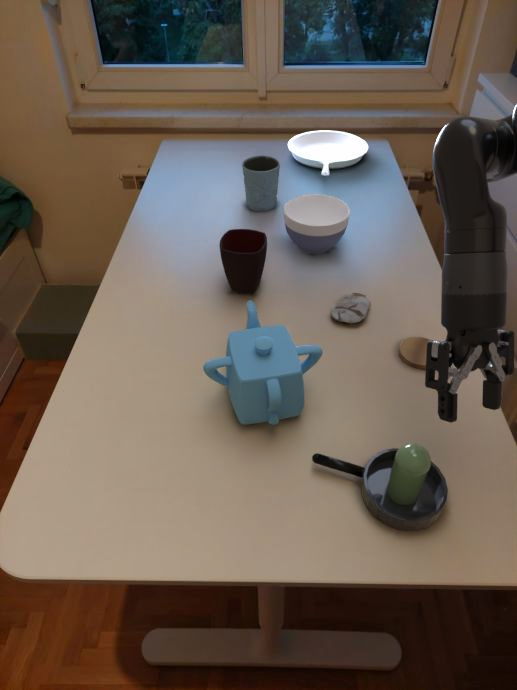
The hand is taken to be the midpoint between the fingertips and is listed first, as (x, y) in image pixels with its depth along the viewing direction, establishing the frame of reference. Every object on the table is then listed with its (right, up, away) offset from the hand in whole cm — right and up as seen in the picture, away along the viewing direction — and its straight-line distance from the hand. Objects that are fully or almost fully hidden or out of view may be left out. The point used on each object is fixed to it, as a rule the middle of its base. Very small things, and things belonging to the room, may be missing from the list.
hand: (470, 414), depth 65 cm
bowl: (-13, +34, +62) cm, 72 cm away
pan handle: (-15, -10, +12) cm, 22 cm away
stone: (-8, +16, +42) cm, 45 cm away
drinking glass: (-27, +49, +77) cm, 95 cm away
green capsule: (-6, -13, +10) cm, 17 cm away
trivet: (+4, +7, +32) cm, 33 cm away
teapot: (-27, +1, +26) cm, 37 cm away
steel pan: (-6, -13, +10) cm, 18 cm away
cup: (-30, +23, +50) cm, 63 cm away
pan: (-6, +68, +97) cm, 119 cm away
